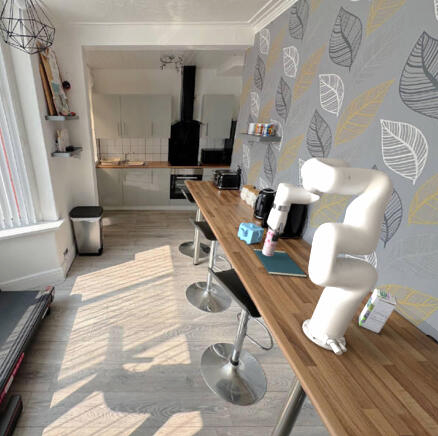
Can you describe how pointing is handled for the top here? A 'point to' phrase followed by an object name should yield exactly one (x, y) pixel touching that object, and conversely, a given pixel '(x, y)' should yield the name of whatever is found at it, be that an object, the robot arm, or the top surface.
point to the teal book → (279, 264)
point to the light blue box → (250, 233)
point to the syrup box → (377, 310)
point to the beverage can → (269, 243)
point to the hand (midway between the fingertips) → (272, 238)
